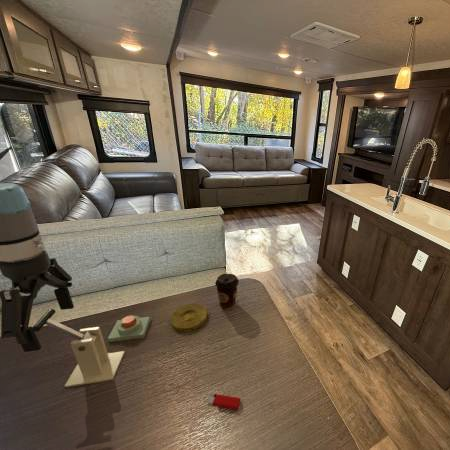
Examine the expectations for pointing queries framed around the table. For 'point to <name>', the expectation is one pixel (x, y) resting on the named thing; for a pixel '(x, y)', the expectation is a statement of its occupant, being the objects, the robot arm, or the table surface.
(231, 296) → the coffee cup
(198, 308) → the olive yellow disc
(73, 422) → the table surface
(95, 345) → the bracket
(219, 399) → the lighter
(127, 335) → the button box
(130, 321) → the button
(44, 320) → the lever
